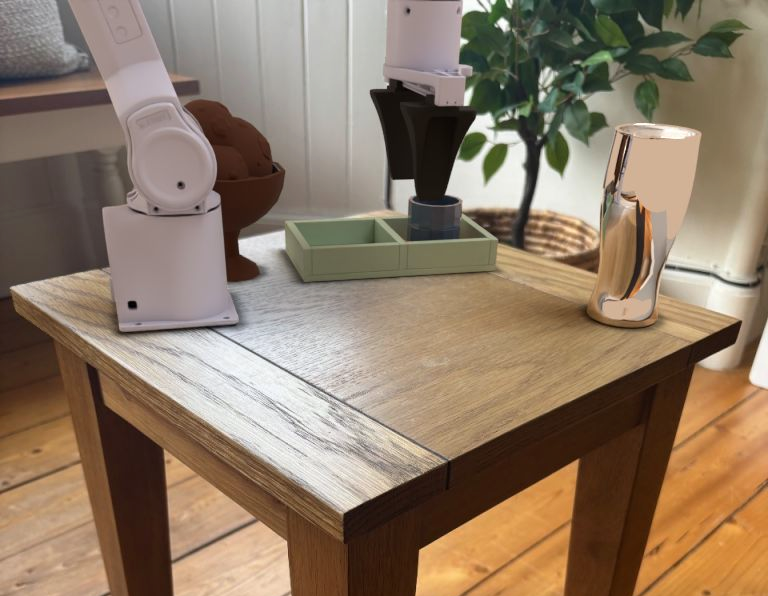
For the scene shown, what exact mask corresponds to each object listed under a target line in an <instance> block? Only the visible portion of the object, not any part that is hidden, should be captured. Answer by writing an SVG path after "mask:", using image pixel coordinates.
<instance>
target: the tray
mask: <svg viewBox="0 0 768 596" xmlns="http://www.w3.org/2000/svg"><path fill="white" fill-rule="evenodd" d="M407 225H408V215H395V216H394V215H392V216H391V215H389V216H370V217H345V218H319V219H299V220H298V219H296V220H285V221H284V241H285V246H284V247H285V252H286V254H287V256H288V258H289V260H290V261H291V262H292V264H293V266H294V268H295V269H296V271H297V273H298V274H299V276H300V278H301V279H302V281H303V282H304V283H313V282H314V283H315V282H330V281H345V280H348V281H349V280H361V279H363V280H364V279H379V278H395V277H396V278H397V277H411V276H412V277H413V276H428V275H446V274H462V273H464V274H465V273H479V272H495V271H496V268H497V267H496V266H497V265H496V264H497V256H498V247H499V246H498V245H499V239H498V238H497V237H496V236H494V235H493V234H491V232H489V231H488V230H486V229H485V228H483V227H482V226H481V225H479V224H478V223H477V222H476V221H475V220H472V219H471V218H470V217H469V216H467V215H466V214H464V213H463V212H462V217H461V229H460V239H451V240H431V241H411V242H407Z"/></svg>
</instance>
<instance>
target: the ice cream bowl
mask: <svg viewBox="0 0 768 596" xmlns="http://www.w3.org/2000/svg"><path fill="white" fill-rule="evenodd" d="M183 106H184V108H186V109H187V110H188V111H189V112H190V113H191V114H192V115H193V116H194V117H195V118H196V120H197V121H198V123H199V124H200V126H201V128H202V130H203V133H204V135H205V137H206V138H207V140H208V141H209V143H210V145H211V147H212V149H213V151H214V154H215V158H216V162H217V175H216V180H215V184H214V186H213V189H212V190H213V191H215V192H216V193H218V194H219V195H220V199H221V202H220V203H221V212H222V225H223V238H224V250H225V263H226V276H227V283H228V282H229V283H231V282H233V283H237V282H241V281H242V282H243V281H248V280H253V279H255V278H257V277H258V276H259V275H261V270H260V268H259V266H258V264H257V263H256V262H255V261H254V260H251V259H250V258H248V257H246V256H244V255H242V254H241V253H240V247H239V246H240V245H239V244H240V243H239V237H240V233H241V231H242V230H244V229H245V228H247V227H250V226H251V225H254V224H255V223H257V222H258V221H259V220H260V219H263V217H265V216H266V215H267V214H268V213H269V212H270V211H271V209H273V207H274V206H275V205H276V204H277V203H278V201H279V199H280V196H281V195H282V191H283V189H284V183H285V177H286V169H285V168H284V167H283V166H282V165H281V164H280V163H279V162H277V161H274V160H273V156H272V148H271V145H270V143H269V141H268V139H267V138H266V137H265V136H264V134H263V133H262V132H260V130H258V128H256V126H255V125H253V124H252V123H251V122H249V121H247V120H245V119H243V118H241V117H238V116H233V115H232V113H231V112H230V111H229V109H228V107H227V106H226V105H225V104H223V103H221V102H219V101H216V100H209V99H201V98H200V99H199V98H198V99H193V100H191V101H189V102H187V103H186V104H184V105H183Z"/></svg>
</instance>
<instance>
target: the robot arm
mask: <svg viewBox="0 0 768 596" xmlns="http://www.w3.org/2000/svg"><path fill="white" fill-rule="evenodd" d="M67 2H68V4H69V6H70V9H71V11H72V13H73V16H74V17H75V20H76V22H77V24H78V27H79V29H80V32H81V33H82V35H83V38H84V40H85V42H86V44H87V46H88V49H89V51H90V53H91V56H92V57H93V60H94V62H95V64H96V67H97V69H98V71H99V73H100V76H101V77H102V81H103V82H104V85H105V87H106V90H107V92H108V95H109V98H110V101H111V103H112V106H113V108H114V111H115V114H116V116H117V119H118V122H119V123H120V125H121V129H122V130H123V133H124V136H125V148H126V152H127V154H126V155H127V162H126V164H127V172H128V175H129V178H130V180H131V182H132V185H133V188H132V190H131V191H128V192H127V193H126V203H125V204H119V205H112V206H104V207H102V209H101V210H102V212H101V213H102V223H103V230H104V238H105V245H106V251H107V258H108V265H109V271H110V277H111V278H109V279H108V284H109V291H110V298H111V302H115V308H116V314H117V315H116V316H117V321H118V329H119V331H120V332H123V333H127V332H128V333H129V332H142V331H156V330H157V331H158V330H170V329H185V328H197V327H212V326H213V327H215V326H226V325H237V324H239V322H240V319H239V318H240V317H239V315H238V312H237V309H236V306H235V303H234V301H233V298H232V294H231V293H230V290H229V289H228V282H227V276H226V263H225V250H224V238H223V225H222V212H221V203H220V202H221V199H220V195H219V194H218V193H216V192H215V191H213V190H212V189H213V186H214V184H215V180H216V175H217V162H216V158H215V154H214V151H213V149H212V147H211V145H210V143H209V141H208V140H207V138H206V137H205V135H204V133H203V130H202V128H201V126H200V124H199V123H198V121H197V120H196V118H195V117H194V116H193V115H192V114H191V113H190V112H189V111H188V110H187V109H186V108H184V105H183V104H182V103H181V102H180V99H179V97H178V94H177V92H176V89H175V87H174V85H173V83H172V80H171V78H170V75H169V73H168V70H167V68H166V66H165V63H164V61H163V58H162V56H161V53H160V51H159V49H158V46H157V43H156V41H155V38H154V35H153V34H152V31H151V27H150V26H149V24H148V21H147V19H146V16H145V14H144V11H143V9H142V6H141V3H140V1H139V0H67ZM386 2H387V3H386V34H385V35H386V40H385V56H384V63H383V64H382V76H383V77H384V83H387V84H388V85H386V88H371V89H370V90H369V96H370V99H371V101H372V103H373V106H374V109H375V110H376V114H377V116H378V120H379V123H380V126H381V130H382V135H383V140H384V147H385V154H386V161H387V166H388V171H389V176H390V179H391V180H393V181H407V180H409V181H410V180H413V184H414V190H415V195H416V196H417V199H418V200H419V201H439V200H443V199H444V196H445V195H446V193H447V190H448V186H449V182H450V179H451V176H452V172H453V168H454V166H455V163H456V159H457V157H458V153H459V151H460V148H461V146H462V144H463V141H464V139H465V138H466V135H467V133H468V131H469V130H470V128H471V127H472V125H473V123H474V122H475V121H476V118H477V114H478V108H476V107H475V106H472V105H465V93H466V81H467V77H472V76H473V69H474V67H473V66H471V65H468V64H460V50H461V49H460V48H461V38H462V37H461V36H462V25H463V24H462V23H463V22H462V21H463V9H464V7H463V6H464V0H387V1H386Z"/></svg>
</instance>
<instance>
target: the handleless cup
mask: <svg viewBox="0 0 768 596" xmlns="http://www.w3.org/2000/svg"><path fill="white" fill-rule="evenodd" d="M407 202H408V206H407V216H408V225H407V242H411V241H431V240H451V239H460V229H461V217H462V213H463V199H461V198H460V197H458V196H455V195H451V194H445V196H444V199H443V200H439V201H419V200H418V199H417V196H416V194H415V195H412V196H409V198H408V201H407Z"/></svg>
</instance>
